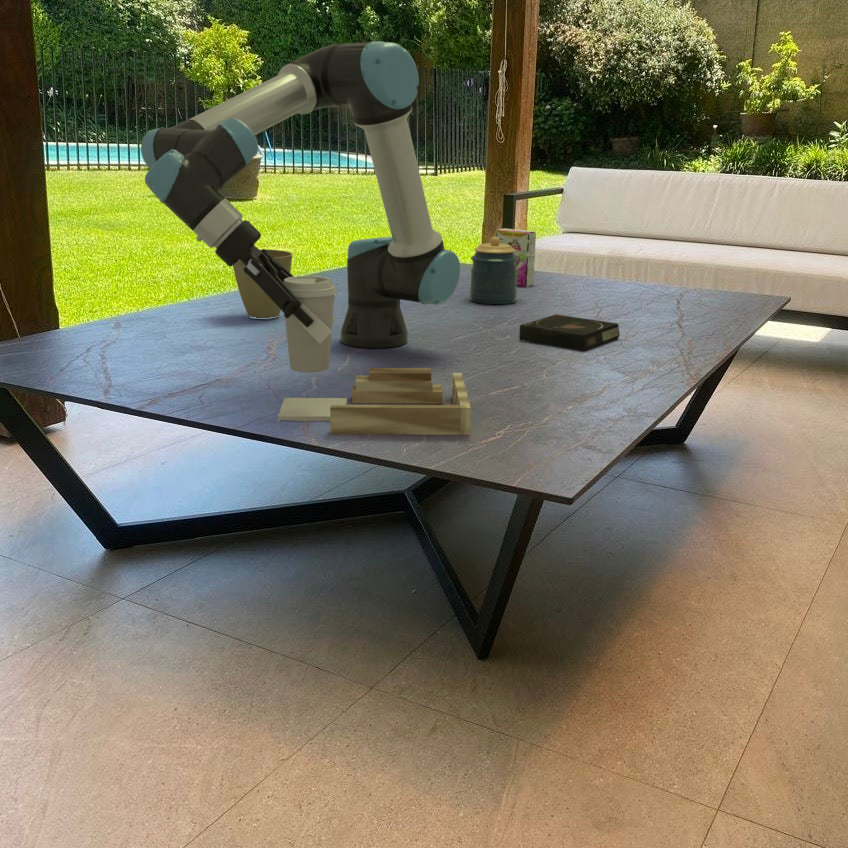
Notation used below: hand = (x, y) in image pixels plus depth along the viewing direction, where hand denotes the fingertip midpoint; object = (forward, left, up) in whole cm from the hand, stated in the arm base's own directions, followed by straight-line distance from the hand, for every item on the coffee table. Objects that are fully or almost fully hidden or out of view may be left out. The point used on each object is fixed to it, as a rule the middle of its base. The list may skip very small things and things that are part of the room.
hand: (327, 331), depth 163 cm
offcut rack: (+2, +12, -14) cm, 19 cm away
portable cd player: (-58, +52, -15) cm, 79 cm away
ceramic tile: (0, -3, -14) cm, 14 cm away
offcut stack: (-8, +12, -14) cm, 20 cm away
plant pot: (-81, -21, -14) cm, 85 cm away
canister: (-106, +39, -14) cm, 114 cm away
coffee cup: (0, -3, -7) cm, 7 cm away
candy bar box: (-133, +48, -14) cm, 142 cm away
